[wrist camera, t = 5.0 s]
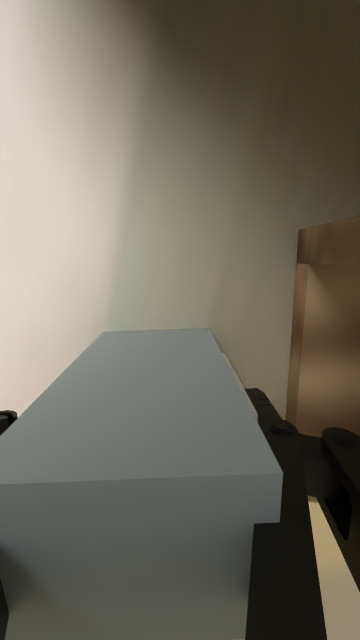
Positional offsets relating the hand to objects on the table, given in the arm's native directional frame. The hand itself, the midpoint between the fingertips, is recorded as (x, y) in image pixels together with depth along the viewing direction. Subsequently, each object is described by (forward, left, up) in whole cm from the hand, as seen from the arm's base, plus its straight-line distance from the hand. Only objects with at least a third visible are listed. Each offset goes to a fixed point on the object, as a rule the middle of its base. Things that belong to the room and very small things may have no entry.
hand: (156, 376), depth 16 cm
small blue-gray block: (0, 0, -2) cm, 2 cm away
